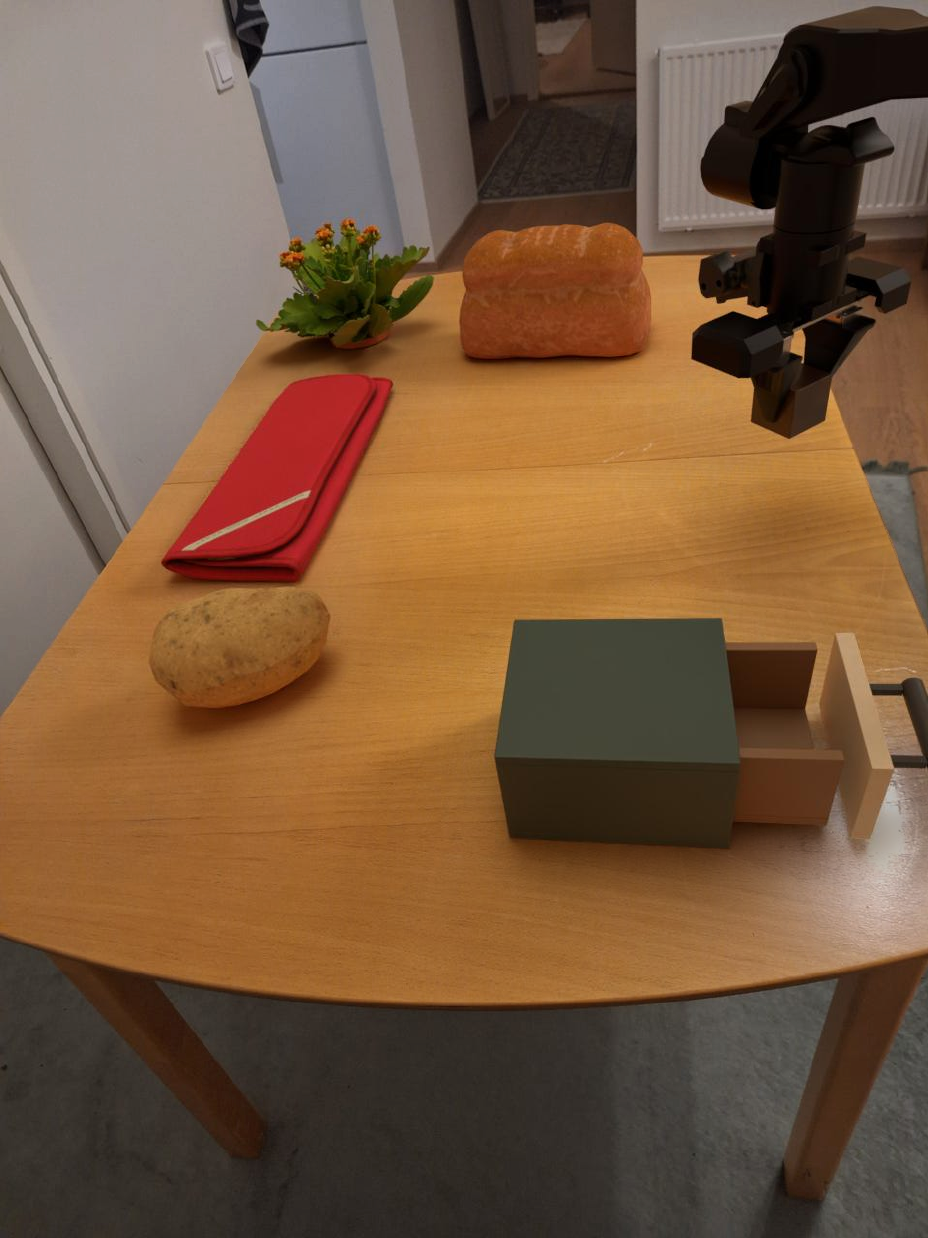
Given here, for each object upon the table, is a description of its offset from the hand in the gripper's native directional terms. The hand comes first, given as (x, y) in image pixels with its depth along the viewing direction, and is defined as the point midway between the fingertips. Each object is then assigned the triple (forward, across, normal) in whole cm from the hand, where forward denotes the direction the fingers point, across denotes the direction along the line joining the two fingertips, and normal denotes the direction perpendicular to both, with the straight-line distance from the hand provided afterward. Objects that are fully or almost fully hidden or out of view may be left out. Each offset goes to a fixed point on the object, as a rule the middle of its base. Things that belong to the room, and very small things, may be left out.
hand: (789, 411), depth 70 cm
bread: (+11, -10, -49) cm, 51 cm away
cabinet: (+11, +31, +14) cm, 36 cm away
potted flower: (+11, +8, -74) cm, 75 cm away
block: (+1, 0, 0) cm, 1 cm away
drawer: (+11, +22, +21) cm, 32 cm away
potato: (+12, +50, -12) cm, 52 cm away
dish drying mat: (+11, +33, -43) cm, 55 cm away
